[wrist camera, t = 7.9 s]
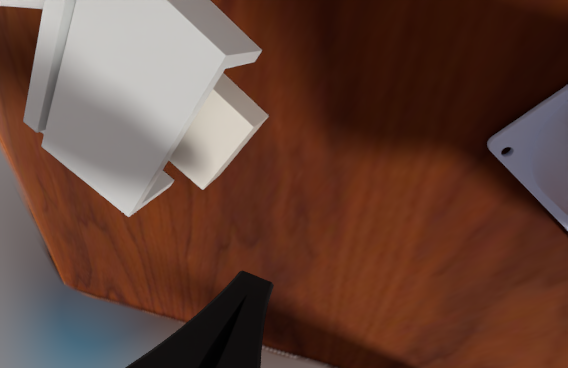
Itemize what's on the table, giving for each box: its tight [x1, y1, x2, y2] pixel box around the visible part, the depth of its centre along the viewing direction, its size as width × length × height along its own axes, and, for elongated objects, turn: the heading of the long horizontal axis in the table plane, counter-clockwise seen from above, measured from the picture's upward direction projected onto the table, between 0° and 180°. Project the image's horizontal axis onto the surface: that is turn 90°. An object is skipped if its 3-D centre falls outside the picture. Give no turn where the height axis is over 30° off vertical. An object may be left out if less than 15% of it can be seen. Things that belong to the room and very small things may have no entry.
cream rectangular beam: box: [169, 73, 268, 190], centre depth 17 cm, size 10×6×2 cm, turn 50°
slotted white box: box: [23, 0, 262, 217], centre depth 17 cm, size 8×13×4 cm, turn 140°
